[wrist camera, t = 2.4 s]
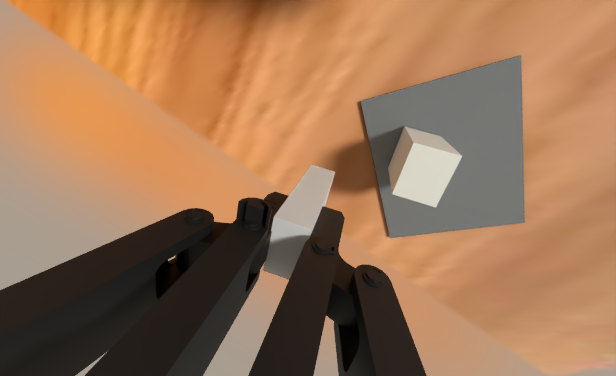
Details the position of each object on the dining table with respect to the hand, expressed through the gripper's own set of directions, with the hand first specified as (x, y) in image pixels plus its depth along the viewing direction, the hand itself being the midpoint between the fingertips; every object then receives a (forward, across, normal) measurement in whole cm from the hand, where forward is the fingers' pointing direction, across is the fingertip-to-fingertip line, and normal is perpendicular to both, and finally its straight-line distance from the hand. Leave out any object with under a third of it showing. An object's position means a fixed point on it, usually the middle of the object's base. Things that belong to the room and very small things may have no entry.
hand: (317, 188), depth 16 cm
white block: (+17, +8, 0) cm, 18 cm away
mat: (+17, +12, 0) cm, 21 cm away
